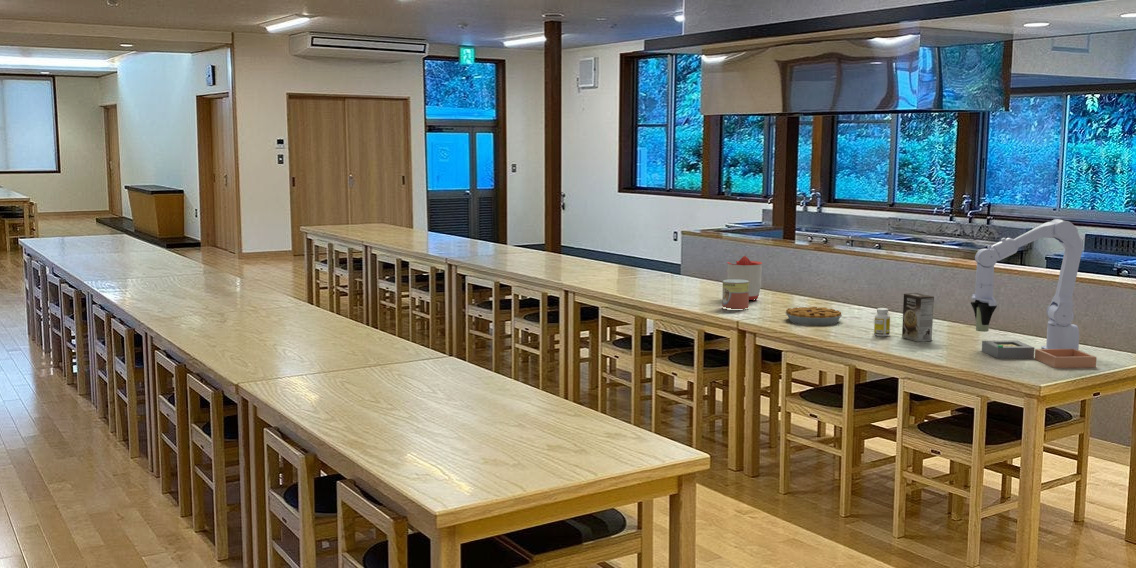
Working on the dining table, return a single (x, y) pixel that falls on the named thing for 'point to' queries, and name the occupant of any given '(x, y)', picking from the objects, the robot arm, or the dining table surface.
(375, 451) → the dining table surface
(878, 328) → the supplement bottle
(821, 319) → the pie
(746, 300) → the canned food
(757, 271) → the citrus juicer
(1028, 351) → the frame
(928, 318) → the coffee box
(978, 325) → the olive cell
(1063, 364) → the tray
